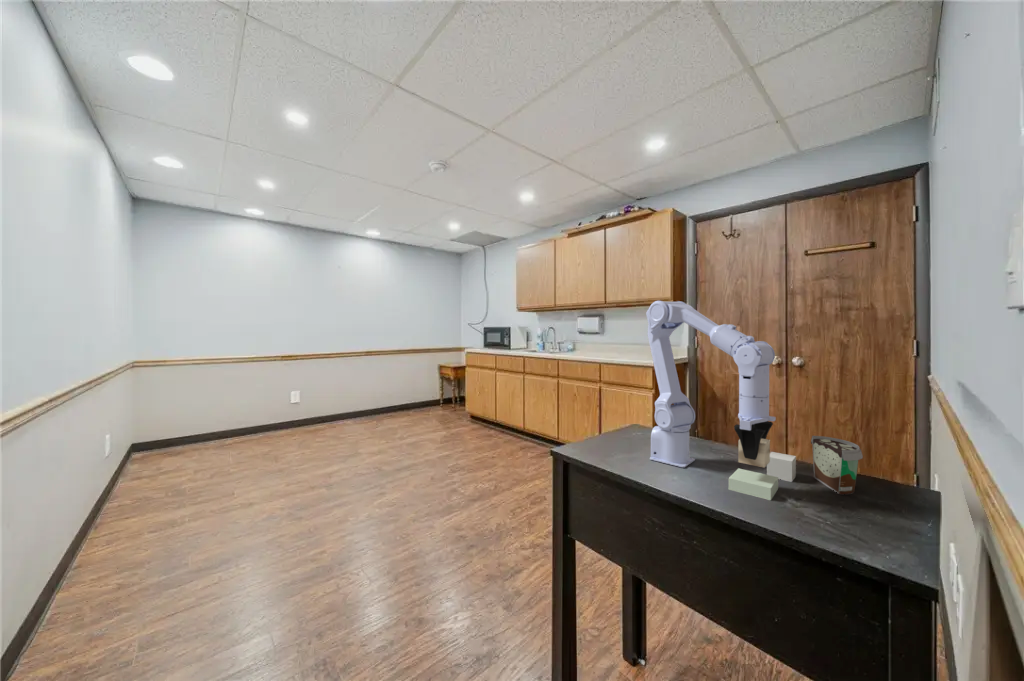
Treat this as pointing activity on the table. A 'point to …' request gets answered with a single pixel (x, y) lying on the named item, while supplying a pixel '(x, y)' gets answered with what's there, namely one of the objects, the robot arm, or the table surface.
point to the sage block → (753, 483)
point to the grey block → (782, 466)
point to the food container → (836, 463)
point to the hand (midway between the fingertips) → (753, 455)
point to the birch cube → (762, 456)
